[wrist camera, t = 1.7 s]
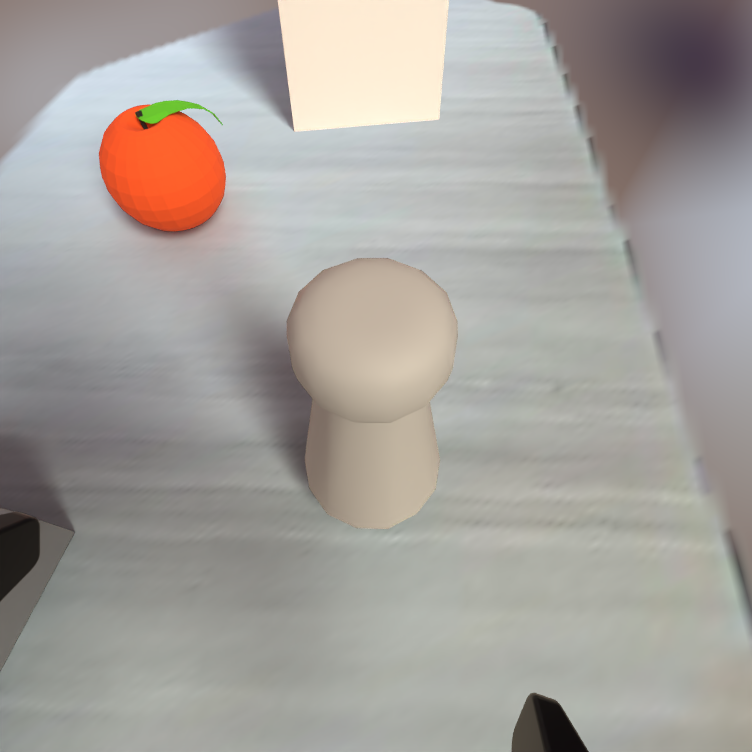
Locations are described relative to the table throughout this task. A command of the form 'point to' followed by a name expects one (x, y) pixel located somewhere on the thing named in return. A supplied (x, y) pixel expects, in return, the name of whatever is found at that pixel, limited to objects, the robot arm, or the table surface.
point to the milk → (363, 61)
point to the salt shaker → (372, 386)
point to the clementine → (162, 166)
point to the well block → (30, 585)
